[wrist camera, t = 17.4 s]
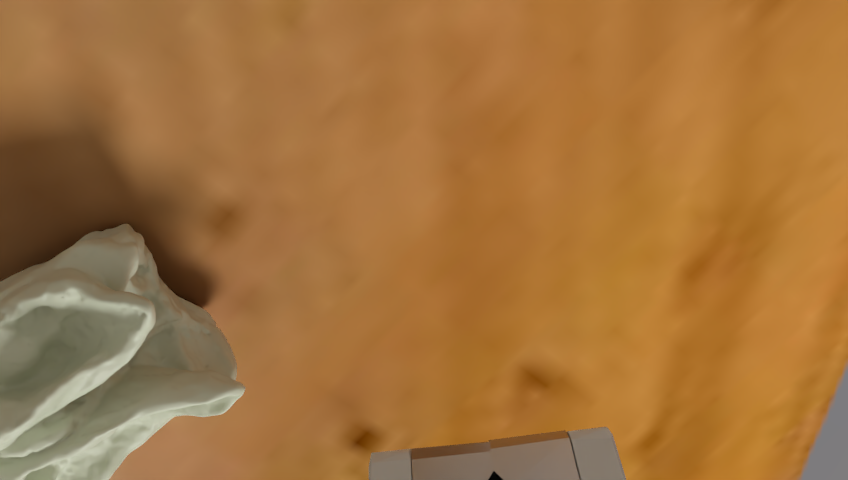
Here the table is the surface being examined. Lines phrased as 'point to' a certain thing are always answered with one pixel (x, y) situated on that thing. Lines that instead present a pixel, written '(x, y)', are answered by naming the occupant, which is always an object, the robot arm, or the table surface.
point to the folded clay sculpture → (101, 360)
